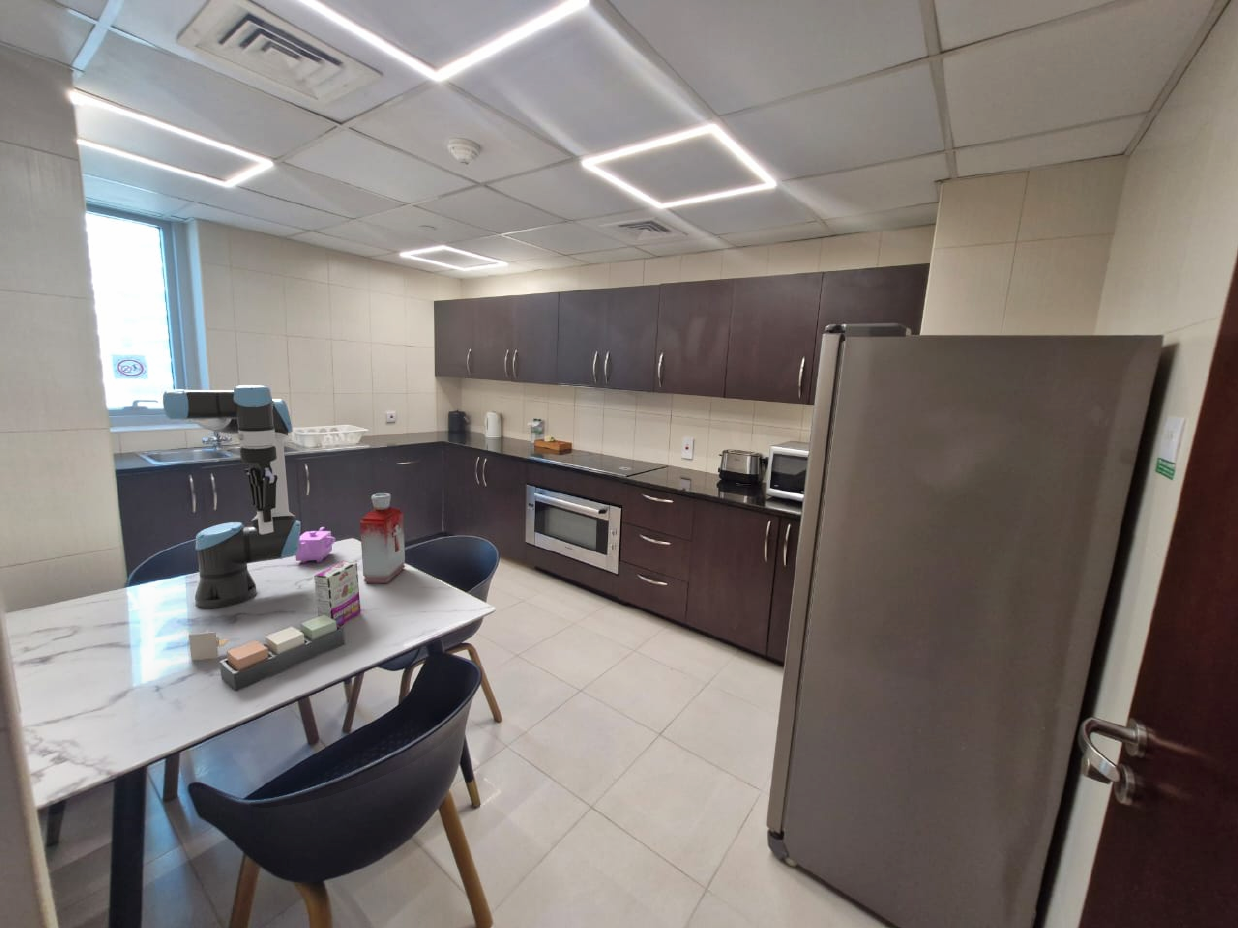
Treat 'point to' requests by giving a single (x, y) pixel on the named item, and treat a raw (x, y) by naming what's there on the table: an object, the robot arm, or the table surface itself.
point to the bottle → (382, 541)
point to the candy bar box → (338, 592)
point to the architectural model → (205, 645)
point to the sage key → (318, 627)
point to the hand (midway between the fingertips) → (266, 532)
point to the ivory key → (284, 640)
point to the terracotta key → (247, 655)
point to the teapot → (314, 545)
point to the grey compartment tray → (280, 660)
